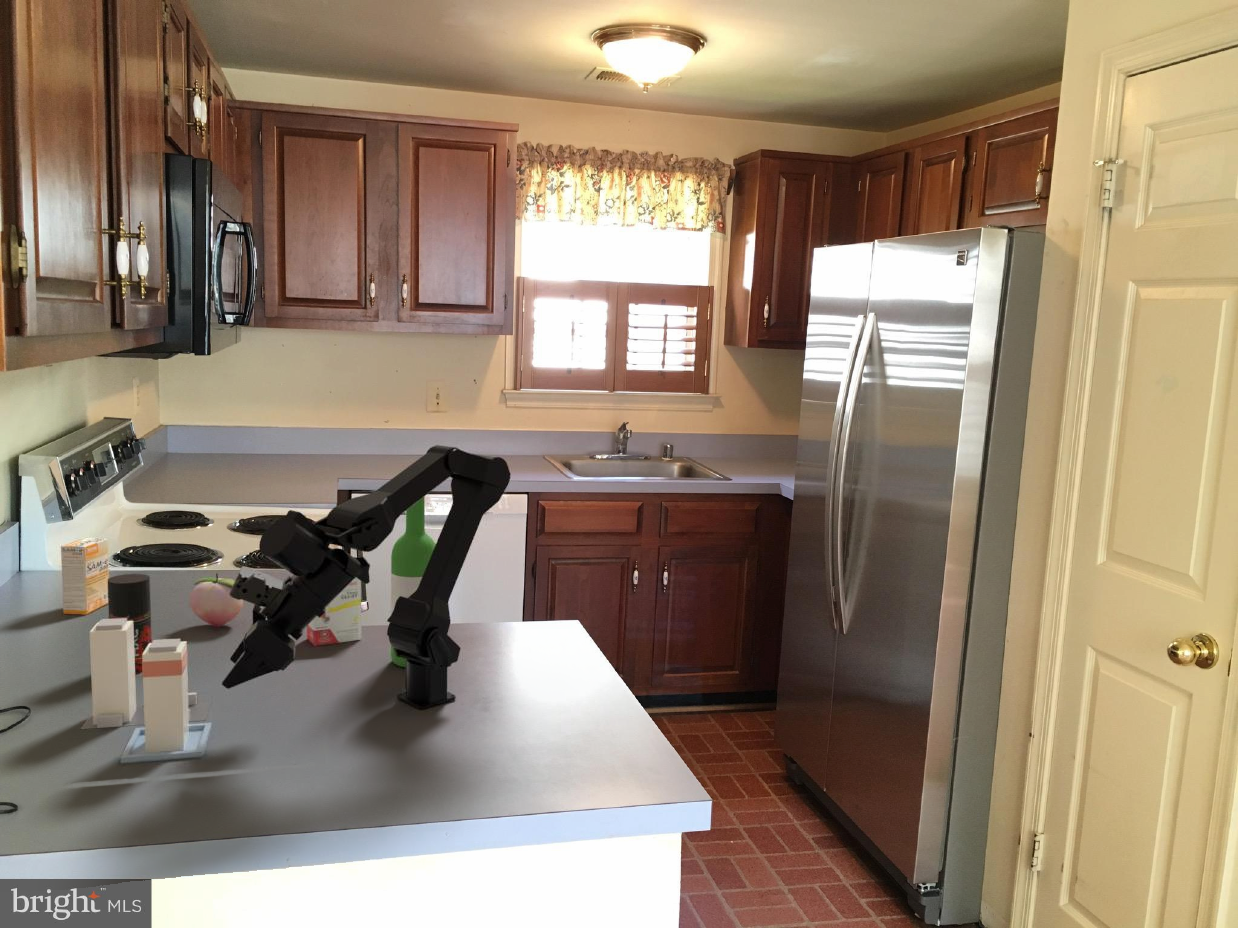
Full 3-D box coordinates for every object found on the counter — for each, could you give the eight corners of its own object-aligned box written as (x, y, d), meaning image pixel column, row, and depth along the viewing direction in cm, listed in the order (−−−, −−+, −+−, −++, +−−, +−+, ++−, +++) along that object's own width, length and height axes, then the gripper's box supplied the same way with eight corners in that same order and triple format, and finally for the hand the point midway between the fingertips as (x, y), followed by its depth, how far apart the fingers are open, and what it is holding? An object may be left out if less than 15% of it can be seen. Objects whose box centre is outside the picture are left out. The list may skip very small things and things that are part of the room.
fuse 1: (136, 709, 138) (133, 616, 136) (129, 721, 133) (126, 625, 132) (101, 711, 137) (97, 617, 135) (93, 724, 132) (89, 627, 130)
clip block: (211, 704, 142) (211, 691, 141) (205, 723, 135) (204, 709, 135) (93, 712, 138) (93, 698, 137) (80, 732, 131) (80, 718, 130)
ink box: (313, 646, 169) (312, 580, 167) (306, 638, 173) (305, 573, 171) (362, 640, 173) (362, 575, 171) (354, 632, 177) (354, 569, 176)
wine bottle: (427, 671, 158) (428, 489, 154) (382, 667, 160) (382, 486, 156) (445, 656, 166) (446, 482, 162) (402, 652, 167) (403, 479, 163)
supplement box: (87, 615, 182) (85, 546, 180) (62, 614, 182) (59, 545, 180) (111, 603, 190) (109, 537, 188) (87, 602, 190) (84, 536, 188)
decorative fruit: (253, 621, 182) (253, 568, 180) (232, 634, 174) (231, 579, 172) (205, 618, 183) (204, 566, 181) (182, 631, 175) (180, 576, 173)
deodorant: (142, 661, 158) (139, 571, 156) (159, 670, 155) (156, 578, 153) (104, 670, 154) (100, 578, 152) (121, 680, 150) (117, 585, 148)
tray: (211, 730, 133) (211, 722, 133) (202, 760, 124) (202, 751, 124) (136, 736, 130) (135, 727, 130) (120, 766, 121) (120, 757, 121)
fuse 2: (189, 735, 130) (187, 636, 128) (184, 749, 125) (181, 647, 123) (151, 738, 128) (148, 638, 127) (145, 752, 124) (141, 649, 122)
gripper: (273, 532, 136) (190, 613, 135) (262, 565, 118) (167, 658, 117) (333, 584, 139) (253, 663, 138) (331, 624, 121) (239, 715, 120)
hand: (228, 673), depth 128 cm, fingers open, 9 cm apart
